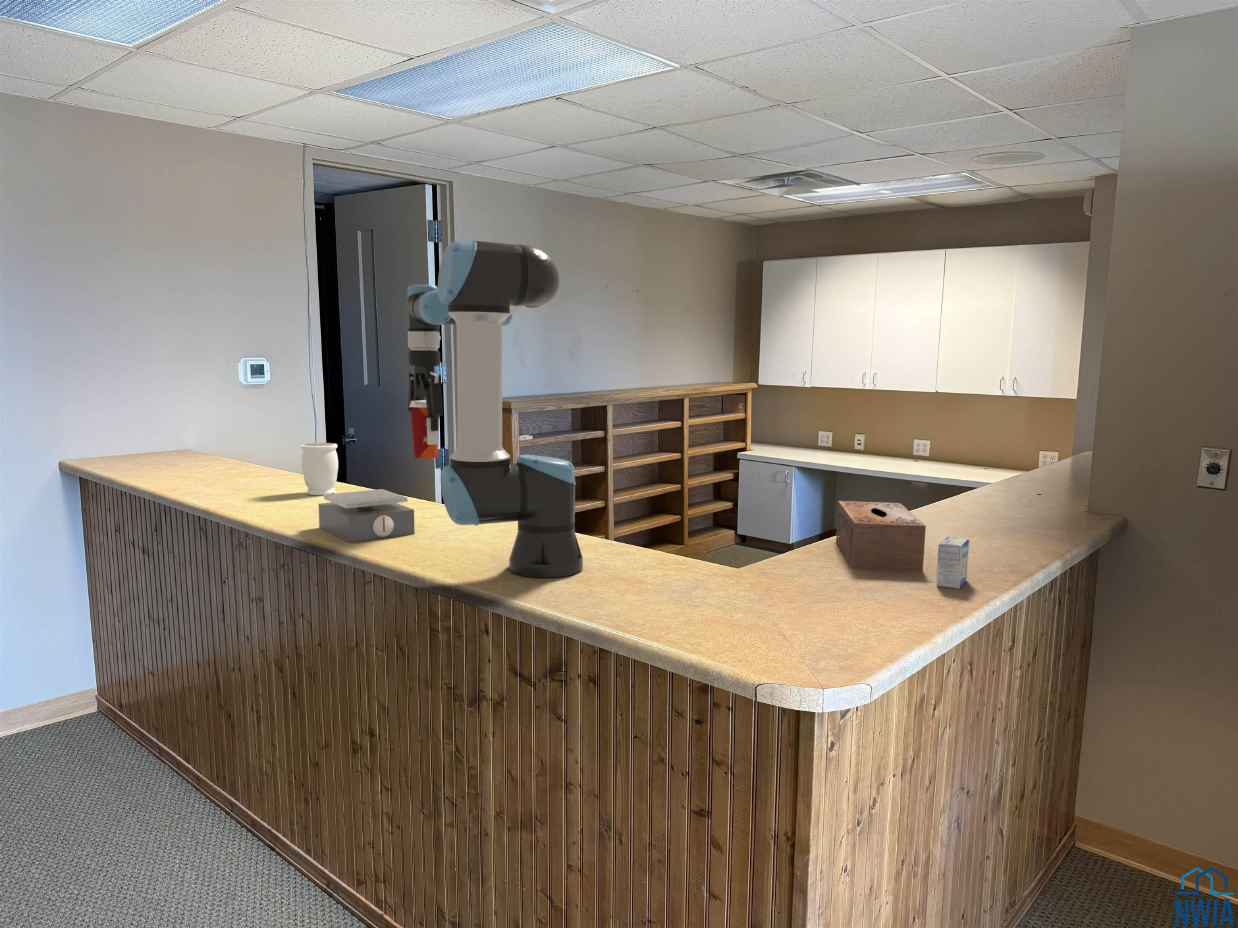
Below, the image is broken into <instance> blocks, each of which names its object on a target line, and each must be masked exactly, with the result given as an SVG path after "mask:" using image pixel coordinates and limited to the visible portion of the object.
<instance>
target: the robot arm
mask: <svg viewBox="0 0 1238 928" xmlns="http://www.w3.org/2000/svg"><path fill="white" fill-rule="evenodd" d="M439 265H440V266H439V271H438V277H437V278H438V279H437V285H435V284H434V285H433V284H411V285H409V286H408V287H407V297H406V303H407V304H406V305H407V328H408V329H407V347H408V348H409V349H410V350H409V351H408V352H407V353H408V366H412V367H414V371H413V372H408V381H409V382H408V400H407V401H408V403H407V404H408V405H407V410H408V412H410V413H411V407H409V405H410V404H411V401H414V400H426V404H427V410H428V415H427V416H426V418H427V445H433V444H438V445H439V444H440V439H439V438H440V436H439V435H440V416H443V415H444V405H443V394H442V374H438V373H436V369H435V367H439V366H440V365H441V352H440V351H439V350H438V349H439V348H441V347H440V344H441V343H440V341H441V339H442V338H441V335H440V326H441V325H442V326H443V325H444V326H445V325H447V326H449V325H451V326H456V381H457V382H456V386H457V387H456V389H457V390H456V393H457V395H456V396H457V397H456V399H457V401H456V402H457V404H456V405H457V413H456V414H457V448H456V449H455V451H454V452H452V454H450V456H449V465H446V466H444V467H442V469H441V472H440V486H441V487H440V489H441V495H442V499H443V504H444V507H445V510H446V512H447V515H448V517H449V518H450V519H451V521H452V522H453V523H454V524H456V525H457V526H458V525H459V526H473V525H474V526H477V527H478V526H479V525H487V524H500V523H501V524H502V523H513V522H517V533H516V537H515V540H514V543H513V546H512V549H511V553H510V555H509V560H508V561H509V562H508V563H509V565H508V566H509V567H508V569H509V571H510V572H511V573H513V574H515V575H519V576H523V577H530V578H541V579H542V578H544V579H545V578H550V579H551V578H561V577H562V578H563V577H567V576H573V575H575V574H578V573H579V572H582V570H583V568H584V561H583V559H584V558H583V554H582V551H581V548H580V545H579V541H578V538H577V536H576V532H575V531H576V530H575V529H576V528H575V526H576V525H575V523H576V522H575V521H576V520H575V519H576V517H575V514H576V513H575V512H576V485H577V482H576V478H575V477H576V475H575V467H574V465H573V463H571V462H570V461H568V460H567V459H566V460H565V459H562V458H556V457H551V456H544V455H532V454H520V455H518V456H517V459H516V462H515V463H511V455H510V454H509V453H508V452H507V451H506V450H505V449H504V447H503V342H502V341H503V329H502V328H503V327H505V326H508V325H509V324H510V323H511V321H512V319H513V315H514V314H515V313H518V312H520V311H522V310H524V309H526V308H527V309H528V308H530V309H531V308H532V309H536V308H539V307H542V306H544V305H546V304H547V303H549V302H550V301H551V300H553V299H554V297H555V296H556V294H557V293H558V290H559V287H560V275H559V274H560V273H559V270H558V268H557V265H556V264H555V262H554V261H553V260H552V258H551V257H550V256H549V255H548V254H547V253H545V252H544V251H543V250H541V249H538V248H537V247H534V246H530V245H527V244H513V243H502V242H493V241H492V242H491V241H480V240H459V241H458V240H456V241H453V242H451V243H449V245H447V246H446V248H445V249H444V251H443V255H442V257H441V260H440V264H439Z"/></svg>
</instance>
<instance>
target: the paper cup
mask: <svg viewBox="0 0 1238 928" xmlns="http://www.w3.org/2000/svg"><path fill="white" fill-rule="evenodd" d="M409 407H411V411H410V416H411V417H410V418H411V431H412V443H413V454H414V455H413V456H414V458H415V459H419V460H420V459H422V460H424V459H425V460H427V459H431V460H432V459H437V458H438V456H439V455H438V454H439V444H433V445H427V418H426V416H427V415H428V410H427V404H426V399H424V400H414V401H411V404H410V405H409Z"/></svg>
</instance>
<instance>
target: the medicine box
mask: <svg viewBox="0 0 1238 928" xmlns="http://www.w3.org/2000/svg"><path fill="white" fill-rule="evenodd" d="M969 547H970V539H969V538H965V537H964V538H963V537H958V536H946V537H945V538H944V539H943V540H942V541H941V542H940V543H939V544H938V547H937V566H936V582H935V583H936V586H937V587H942V588H949V589H956V590H960V589H961V587H962V586H964V583H965V582H966V581H967V580H968V564H969V563H968V562H969V551H970V550H969Z"/></svg>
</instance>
